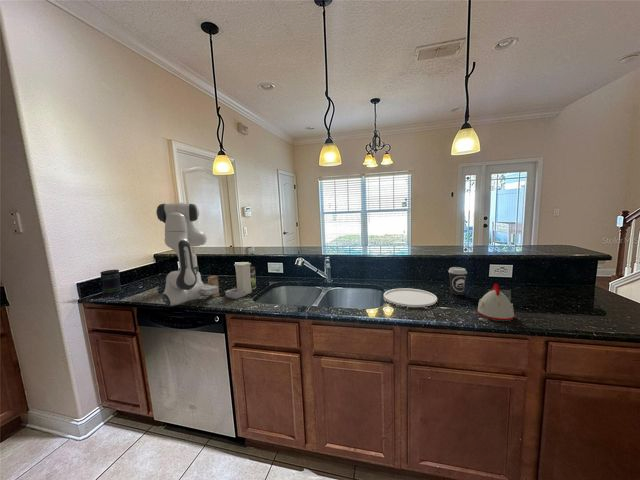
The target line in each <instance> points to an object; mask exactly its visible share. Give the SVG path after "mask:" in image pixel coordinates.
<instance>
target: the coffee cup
mask: <svg viewBox="0 0 640 480" xmlns="http://www.w3.org/2000/svg"><path fill="white" fill-rule="evenodd" d="M448 273H449V274H448V275H449V277H448V278H449V286H450V287H449V288H450V294H451V293H452V294H456V295H462V294H463V295H464V293H465V285H466V278H467V274H468V271H467V270H466V268H464V267H459V266H453V267H449V269H448Z"/></svg>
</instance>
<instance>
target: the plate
mask: <svg viewBox="0 0 640 480" xmlns="http://www.w3.org/2000/svg"><path fill="white" fill-rule="evenodd" d="M383 300H384V302H386V301H387V302H389V303H393V304H396V305H401V306H407V307H425V306H430V305H433V304H435V303H436V302H437V303H438V296H436V295H435V294H434V293H432V292H430V291H427V290H423V289H417V288H410V287H409V288H405V287H404V288H403V287H402V288H401V287H399V288H393V289H387V290H386V291H385V292H383ZM387 302H386V303H387ZM389 303H388V304H389Z"/></svg>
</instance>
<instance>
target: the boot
mask: <svg viewBox="0 0 640 480" xmlns="http://www.w3.org/2000/svg"><path fill="white" fill-rule="evenodd" d="M251 265H252V263H251V262H245V261H241V262H237V263H234V264H233V266H234V267H235V275H236V287H234V288H231V289H228V290H226V291H225V297H226V298H228V299H232V300H238V299H240V298H243V297H246V296H247V295H249V294H251V293H252V290H251V276H250V266H251Z"/></svg>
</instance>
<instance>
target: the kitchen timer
mask: <svg viewBox="0 0 640 480" xmlns="http://www.w3.org/2000/svg"><path fill="white" fill-rule="evenodd" d="M514 310H515V309H514V304H513V303H511V301H510V299H509V298H508V297H507V295H505V294H504V293H503V292H502V291H501V289H500V285H499V284H498V283H494V284H493V286H492V290H490V291H488V292H486V293H485V294H484V295H483V296H482V298H479V300H478V306H477V314H478V313H480V314H481V315H483V316H486V317H488V318H492V319H496V320H511V319H513V318H514V319H515V313H514Z"/></svg>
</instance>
